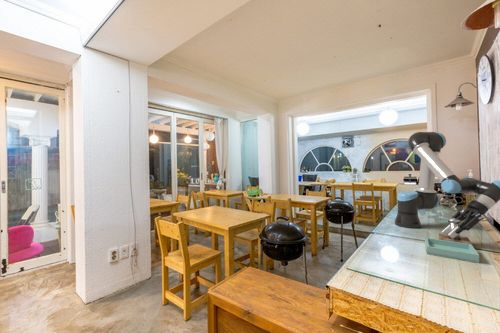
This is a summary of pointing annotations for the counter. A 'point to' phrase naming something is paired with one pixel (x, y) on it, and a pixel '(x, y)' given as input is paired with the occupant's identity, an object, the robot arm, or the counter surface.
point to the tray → (451, 250)
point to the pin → (454, 226)
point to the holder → (447, 238)
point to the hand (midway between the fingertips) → (447, 235)
